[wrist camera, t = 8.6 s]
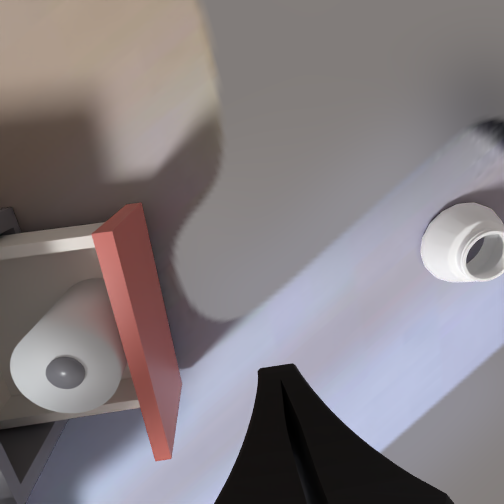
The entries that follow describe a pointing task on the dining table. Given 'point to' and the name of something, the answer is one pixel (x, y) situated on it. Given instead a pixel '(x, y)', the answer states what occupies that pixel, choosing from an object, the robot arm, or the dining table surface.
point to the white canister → (72, 352)
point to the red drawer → (124, 308)
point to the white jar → (464, 244)
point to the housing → (23, 431)
